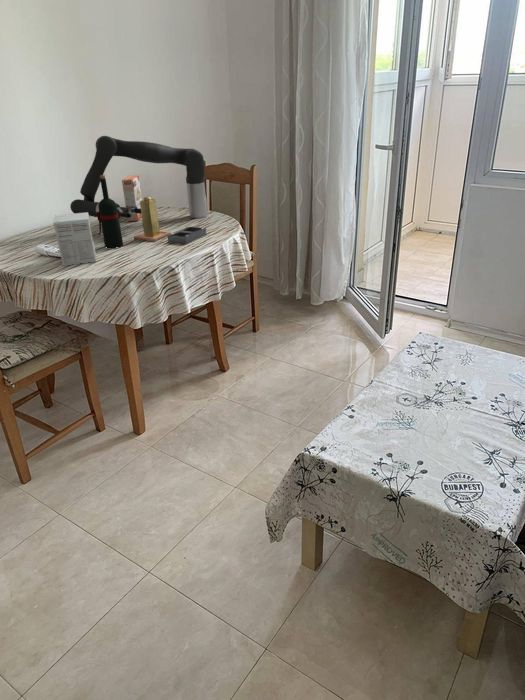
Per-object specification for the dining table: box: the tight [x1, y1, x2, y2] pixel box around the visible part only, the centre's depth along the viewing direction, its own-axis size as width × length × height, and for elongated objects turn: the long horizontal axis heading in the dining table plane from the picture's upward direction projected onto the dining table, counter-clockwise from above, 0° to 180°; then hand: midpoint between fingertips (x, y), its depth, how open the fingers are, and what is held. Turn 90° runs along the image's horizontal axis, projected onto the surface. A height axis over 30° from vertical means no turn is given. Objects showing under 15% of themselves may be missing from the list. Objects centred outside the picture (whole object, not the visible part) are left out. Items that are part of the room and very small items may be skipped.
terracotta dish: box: [133, 230, 172, 243], centre depth 241 cm, size 12×12×1 cm
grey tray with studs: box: [167, 226, 207, 245], centre depth 237 cm, size 17×10×3 cm, turn 155°
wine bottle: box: [96, 174, 124, 249], centre depth 224 cm, size 8×10×30 cm
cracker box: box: [121, 175, 143, 222], centre depth 271 cm, size 14×6×21 cm, turn 179°
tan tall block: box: [140, 196, 161, 237], centre depth 237 cm, size 5×5×17 cm
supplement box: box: [53, 212, 97, 266], centre depth 211 cm, size 13×13×18 cm
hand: (136, 213), depth 239 cm, fingers open, 8 cm apart
